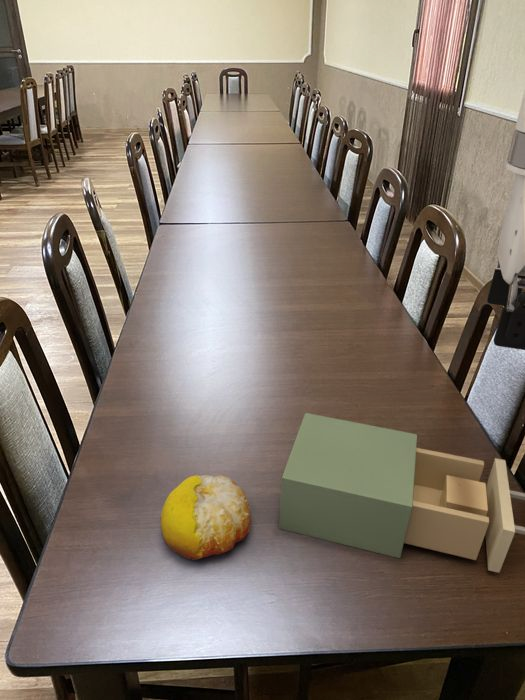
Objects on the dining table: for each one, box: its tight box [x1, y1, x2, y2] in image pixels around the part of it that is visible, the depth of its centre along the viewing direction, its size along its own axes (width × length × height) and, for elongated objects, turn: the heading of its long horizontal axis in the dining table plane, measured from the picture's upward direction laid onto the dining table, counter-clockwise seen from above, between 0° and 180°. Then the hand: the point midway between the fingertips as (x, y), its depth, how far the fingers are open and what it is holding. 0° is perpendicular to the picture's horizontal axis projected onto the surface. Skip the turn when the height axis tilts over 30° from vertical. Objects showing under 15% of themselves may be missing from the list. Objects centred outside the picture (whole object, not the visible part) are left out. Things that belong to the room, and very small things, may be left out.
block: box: [440, 475, 488, 516], centre depth 64 cm, size 4×4×4 cm
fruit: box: [160, 474, 252, 561], centre depth 64 cm, size 11×10×8 cm
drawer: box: [404, 447, 525, 574], centre depth 64 cm, size 19×11×7 cm, turn 74°
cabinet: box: [278, 412, 418, 559], centre depth 67 cm, size 15×13×9 cm
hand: (505, 323), depth 57 cm, fingers open, 9 cm apart
